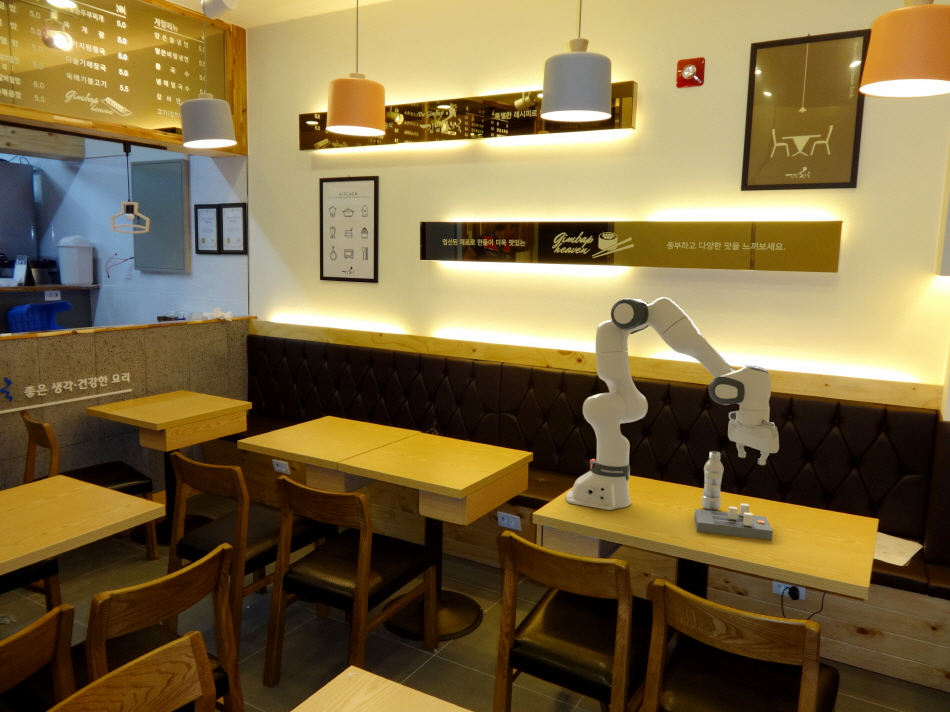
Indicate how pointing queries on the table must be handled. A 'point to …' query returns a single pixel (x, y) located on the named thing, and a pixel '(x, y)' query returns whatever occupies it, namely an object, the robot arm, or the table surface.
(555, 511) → the table surface
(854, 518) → the table surface
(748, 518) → the block
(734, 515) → the block
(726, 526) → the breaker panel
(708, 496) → the plastic bottle
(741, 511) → the block
